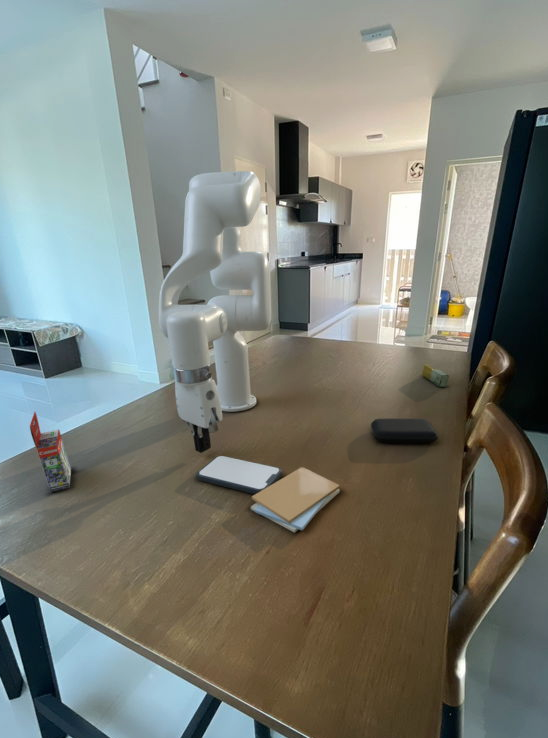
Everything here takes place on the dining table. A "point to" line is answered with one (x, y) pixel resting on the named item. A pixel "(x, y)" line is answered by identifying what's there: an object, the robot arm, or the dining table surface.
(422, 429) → the carrying case
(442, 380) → the medication box
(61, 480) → the ink box
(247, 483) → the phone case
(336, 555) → the dining table surface
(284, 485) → the envelope pile
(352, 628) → the dining table surface
